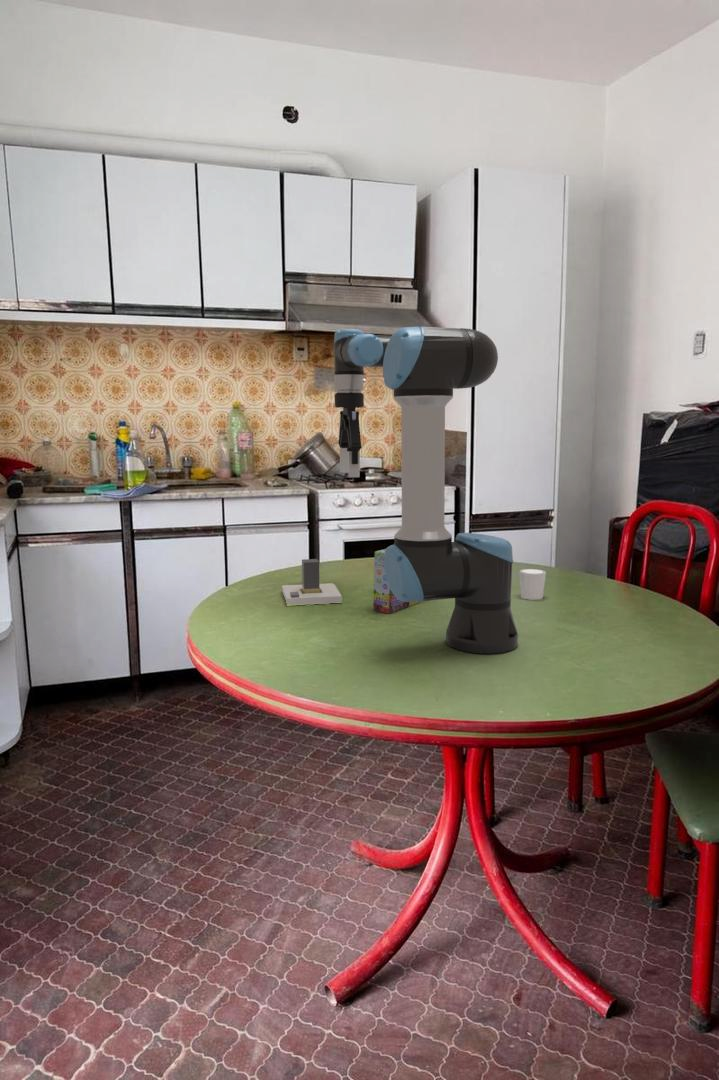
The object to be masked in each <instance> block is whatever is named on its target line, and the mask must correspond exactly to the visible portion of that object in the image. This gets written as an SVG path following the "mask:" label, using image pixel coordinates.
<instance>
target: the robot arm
mask: <svg viewBox="0 0 719 1080" xmlns="http://www.w3.org/2000/svg"><path fill="white" fill-rule="evenodd" d="M333 348H334V349H333V351H334V353H333V356H334V357H333V359H334V369H333V370H334V376H333V378H334V379H333V381H334V382H333V386H334V388H333V389H334V391H335V392H336V393H334V407H335V408H336V409H337V408H338V409H339V408H342V410H340V411H339V415H340V417H339V430H338V431H339V432H338V441H337V443H338V446H339V473H348V478H360V474H361V473H360V472H361V470H360V468H361V466H360V464H361V463H360V459H361V458H360V454H361V453H360V451H361V449H362V448H363V447H362V441H361V440H362V438H361V429H360V412H359V411H358V410H356V408H363V407H364V405H365V403H364V402H365V396H364V395H365V394H364V393H363V392H362V391H364V386H365V385H364V383H366V382H367V380H366V378H364V373H365V372H364V371H365V369H364V368H365V367H367V368H369V367H370V368H382V377H383V382H384V384H385V386H386V387H387V388H388V389H390V390H393V400H395V402H397V404H398V405H399V406H400V408H401V409H400V410H401V415H400V416H401V419H400V420H401V527H400V529H398V531H397V532H396V533H394V534H393V535H394V537H393V538H394V539H393V540H394V541H393V544H391V545H389V546H387V547H386V548H385V549H386V550H385V555H384V568H385V574H386V578H387V581H388V584H389V586H390V589H391V591H392V593H393V594H394V596H395V597H396V598H397V599H399V600H400V601H403V602H420V603H422V602H427V601H428V602H430V601H439V600H449V599H454V608H453V610H452V613H451V617H450V620H449V622H448V625H447V628H446V633H445V642H446V644H447V645H448V646H449V647H451V648H453V649H454V650H458V651H462V652H467V653H472V654H487V655H489V654H500V653H506V652H510V651H513V650H514V649H516V648H517V647H518V645H519V643H518V642H519V633H518V629H517V627H516V624H515V620H514V615H513V612H512V609H511V607H512V606H511V605H512V603H511V602H512V600H511V599H512V583H513V582H512V577H513V563H514V560H513V559H514V557H513V546H512V543H511V542H510V541H509V540H507V539H505V538H502V537H499V536H495V535H487V534H483V533H476V532H475V533H472V532H459V533H457V534H456V536H455V541H453V539H452V538H453V537H452V536H453V535H452V533H450V531H449V530H447V528H446V527H445V493H446V492H445V483H446V481H445V479H446V478H445V471H446V469H445V467H446V466H445V465H446V462H445V461H446V460H445V459H446V458H445V457H446V455H445V454H446V451H445V450H446V445H445V444H446V430H445V429H446V406H447V405H448V404H449V403H450V402H451V400H452V399H453V397H454V390H455V389H469V388H474V387H477V386H479V385H481V384H483V383H485V382H487V381H488V380H489V379H490V377H491V376H492V375H493V374H494V372H495V371H496V369H497V365H498V360H499V356H498V355H499V353H498V350H497V346H496V344H495V343H494V341H493V340H492V339H491V337H490V336H488V335H487V334H485V333H483V332H482V331H479V330H476V329H474V328H473V329H472V328H464V327H463V328H462V327H461V328H456V327H455V328H453V327H452V328H451V327H438V326H422V325H421V326H420V325H419V326H407V327H405V326H404V327H400V328H398V329H397V330H395V331H394V333H393V334H392V335H382V334H381V335H378V334H373V333H364V332H363V331H362V330H361V329H357V328H356V329H355V328H354V329H353V328H346V329H343V328H342V329H337V330H336V331H335V332H334V339H333Z"/></svg>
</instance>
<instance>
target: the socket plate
mask: <svg viewBox="0 0 719 1080" xmlns="http://www.w3.org/2000/svg"><path fill="white" fill-rule="evenodd" d="M319 589H320V593H307V594H302V584H290V585H289V584H288V585H281V593H282V592H283V594H282V596H283V595H284V597H285V600H286V602H285V604H286V603H287V604H326V605H328V604H327V603H342V604H343V595H342V594H341V592H340V591H339V589H338V587H337V586H336V585H335V583H332V582H331V583H328V582H327V583H319ZM284 597H283V598H284ZM285 600H284V601H285Z"/></svg>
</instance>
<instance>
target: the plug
mask: <svg viewBox="0 0 719 1080" xmlns="http://www.w3.org/2000/svg"><path fill="white" fill-rule="evenodd" d="M301 583H302V584H301V585H302V594H307V593H320V589H319V584H320V561H319V560H318V558H311V559H309V558H308V559H305V558H304V559H301Z"/></svg>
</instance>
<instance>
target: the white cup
mask: <svg viewBox="0 0 719 1080" xmlns="http://www.w3.org/2000/svg"><path fill="white" fill-rule="evenodd" d="M546 575H547V572H546V571H545V570H544V569H536V568H523V569H520V570H519V585H520V586H519V587H520V598H521V599H524V600H530V601H538V600H539V601H540V600H542V599H543V598H544V590H545V583H546Z"/></svg>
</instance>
